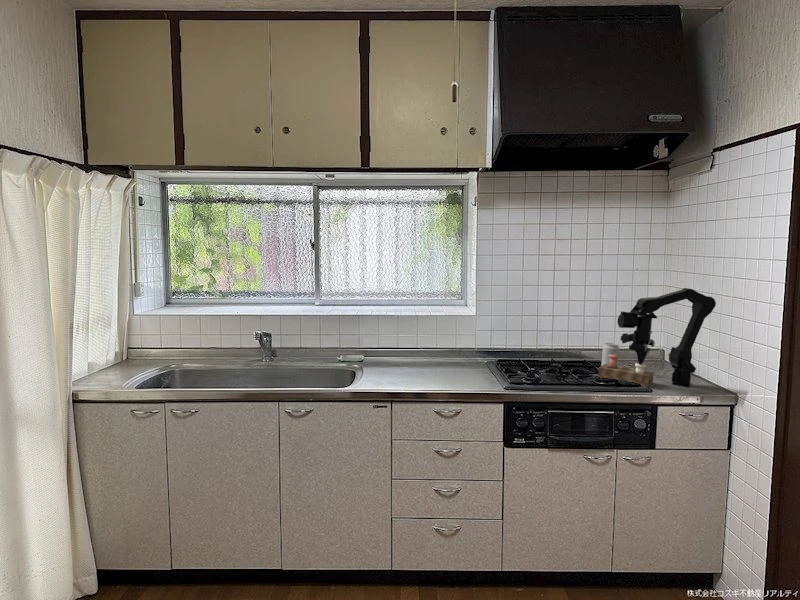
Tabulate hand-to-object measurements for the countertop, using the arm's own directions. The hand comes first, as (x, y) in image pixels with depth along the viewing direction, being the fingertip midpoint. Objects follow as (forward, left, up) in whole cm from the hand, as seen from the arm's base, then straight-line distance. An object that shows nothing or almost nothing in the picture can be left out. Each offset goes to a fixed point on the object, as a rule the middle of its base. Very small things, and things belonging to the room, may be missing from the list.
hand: (640, 364), depth 219 cm
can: (+18, -20, -8) cm, 28 cm away
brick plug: (+11, 0, -4) cm, 12 cm away
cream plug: (0, 0, -6) cm, 6 cm away
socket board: (+6, 0, -8) cm, 10 cm away
